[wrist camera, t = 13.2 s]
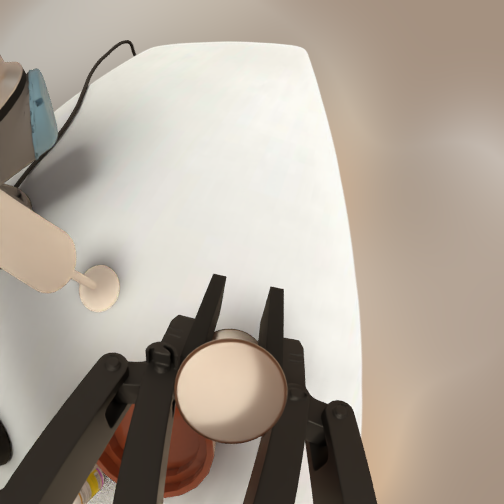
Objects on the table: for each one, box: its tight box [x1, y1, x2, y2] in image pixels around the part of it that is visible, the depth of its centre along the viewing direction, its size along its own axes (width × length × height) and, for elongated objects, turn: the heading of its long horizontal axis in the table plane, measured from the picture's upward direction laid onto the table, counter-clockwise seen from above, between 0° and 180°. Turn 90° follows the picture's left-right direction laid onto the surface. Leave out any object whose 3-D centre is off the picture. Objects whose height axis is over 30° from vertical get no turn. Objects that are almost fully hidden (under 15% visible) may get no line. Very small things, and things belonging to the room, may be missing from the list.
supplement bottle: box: [73, 464, 104, 504], centre depth 20 cm, size 7×7×13 cm
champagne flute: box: [0, 189, 120, 312], centre depth 24 cm, size 7×7×24 cm
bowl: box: [96, 404, 216, 498], centre depth 28 cm, size 16×16×6 cm
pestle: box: [174, 329, 287, 444], centre depth 13 cm, size 4×4×16 cm
